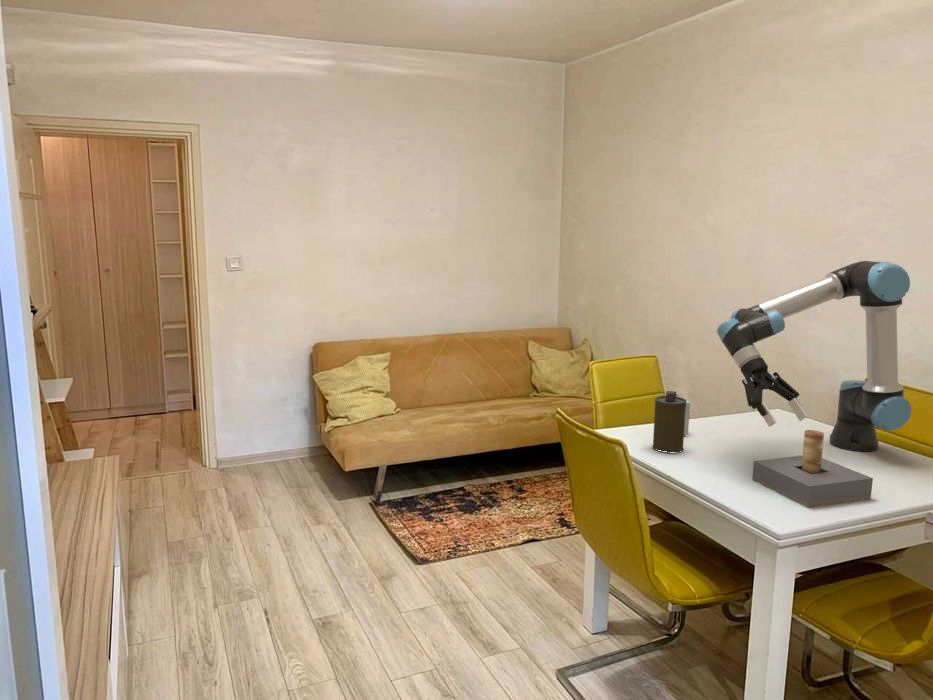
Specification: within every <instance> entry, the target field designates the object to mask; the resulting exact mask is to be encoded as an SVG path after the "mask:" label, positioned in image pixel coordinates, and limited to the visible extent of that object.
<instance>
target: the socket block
mask: <svg viewBox="0 0 933 700" xmlns="http://www.w3.org/2000/svg"><path fill="white" fill-rule="evenodd" d="M802 457H803V455H795V456H794V455H793V456H786V457H777V458H767V459H760V460H759V459H758V460H753V466H752V467H753V468H752V479H751V481H754V482H755V481H756V483H757V482H758V483H757V484H759V483H760V485H761V484H762V485H761V486H764V487H766V488H767V489H770V490H771V491H773V490H774V491H773V492H775V491H776V492H775V493H777V492H778V494H779V495H782V496H784V497H786V498H788V499H790V500H792V501H794V502H796V503H798V504H800V505H802V506H804V507H806V508H811V507H818V506H827V505H834V504H840V503H848V502H849V501H850V502H854V501H855V500H857V501H861V499H864V500H869V499H868V498H871V499H872V489H873V481H874V478H873V477H871V476H868V475H866V474H863V473H861V472H859V471H856V470H854V469H851V468H848V467H846V466H843V465H841V464H838V463H836V462H834V461H831V460H828V459H826V458H823V457H822V461H821V472H820V473H816V474H809V473H807V472H805V471H802V470H801V468H802Z"/></svg>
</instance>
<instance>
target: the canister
mask: <svg viewBox="0 0 933 700" xmlns="http://www.w3.org/2000/svg"><path fill="white" fill-rule="evenodd" d="M686 400H687V399H686V398H684V397H680V396H678V394H677V391H675V390H674V391H673V390H667V391H666V393H665V395H661V396H656V397H655V398H654V418H653V420H654V421H653V438H652V440H653V441H652V446H651V447H653V448H654V449H657V450H661V451H667V452H680V451H682V452H683V451H684V450H685V449H684V439H685V438H684V437H685V436H684V424H685V408H686V402H687V401H688V400H687V401H686ZM653 448H652V449H653ZM654 449H653V450H654ZM680 453H681V452H680Z"/></svg>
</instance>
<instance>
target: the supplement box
mask: <svg viewBox="0 0 933 700" xmlns="http://www.w3.org/2000/svg"><path fill="white" fill-rule="evenodd" d="M685 400H686V401H687V402H686V408H685V424H684V435H688V436H689V425H690V424H689V423H690V407H691V406H690V405H691V402H690V401H688V400H687V399H685Z"/></svg>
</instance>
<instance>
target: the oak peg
mask: <svg viewBox="0 0 933 700" xmlns="http://www.w3.org/2000/svg"><path fill="white" fill-rule="evenodd" d="M803 436H804V437H803V445H802V446H803V447H802V456H803V457H802V468H801V470H802V471H805V472H807V473H809V474H816V473H820V472H821V461H822V458H823V449H824V448H823V447H824V436H825V432H823V431H820V430H815V429H806V430H804V435H803Z"/></svg>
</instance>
